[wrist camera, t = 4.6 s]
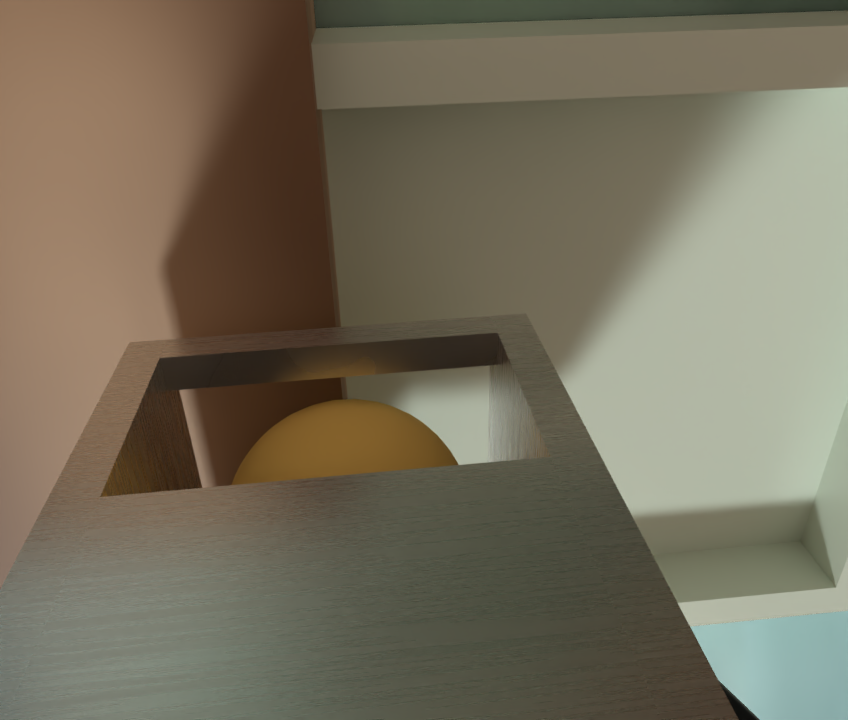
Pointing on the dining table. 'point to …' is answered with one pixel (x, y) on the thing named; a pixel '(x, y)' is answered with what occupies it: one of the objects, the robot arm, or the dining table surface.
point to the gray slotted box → (344, 560)
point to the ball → (342, 443)
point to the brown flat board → (153, 217)
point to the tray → (624, 262)
